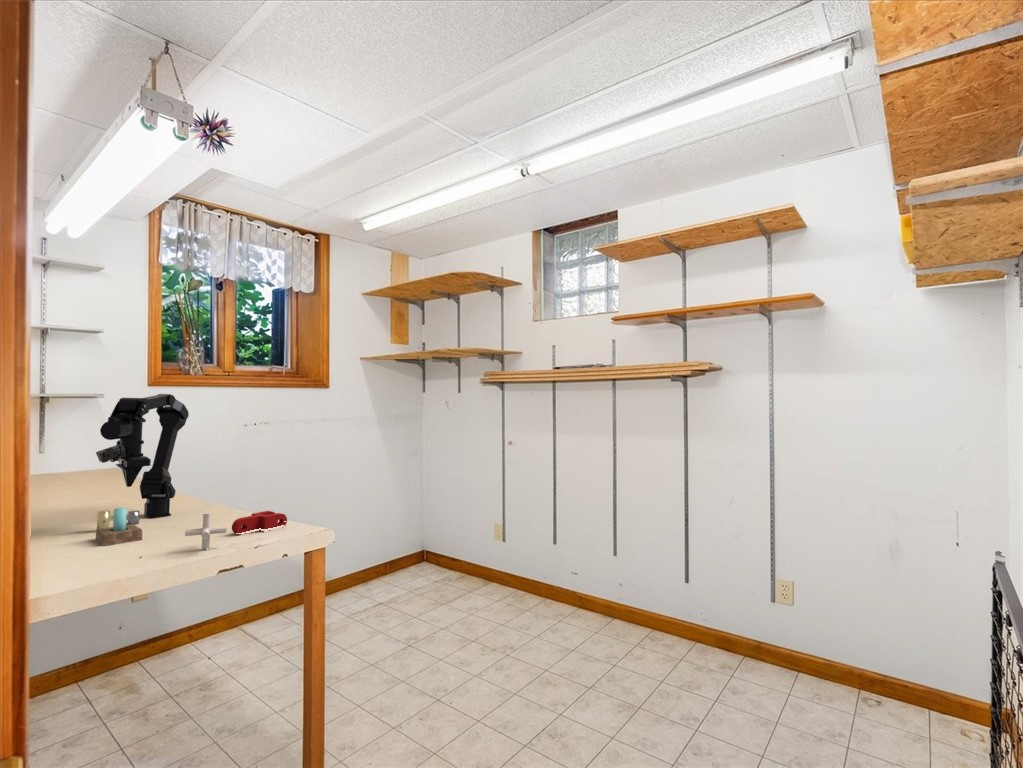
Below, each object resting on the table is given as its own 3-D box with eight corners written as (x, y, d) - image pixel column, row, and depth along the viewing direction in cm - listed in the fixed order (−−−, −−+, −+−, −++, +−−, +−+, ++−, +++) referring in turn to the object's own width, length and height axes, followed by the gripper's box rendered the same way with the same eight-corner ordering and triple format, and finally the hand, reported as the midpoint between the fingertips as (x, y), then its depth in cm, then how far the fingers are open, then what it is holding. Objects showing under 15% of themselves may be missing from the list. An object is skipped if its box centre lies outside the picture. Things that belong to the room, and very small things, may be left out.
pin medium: (107, 529, 166) (108, 509, 166) (110, 530, 164) (111, 511, 164) (95, 530, 164) (96, 511, 164) (98, 532, 162) (99, 512, 162)
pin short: (137, 522, 176) (137, 510, 176) (140, 523, 174) (140, 511, 174) (126, 523, 173) (126, 511, 173) (129, 525, 171) (129, 512, 172)
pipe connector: (183, 556, 142) (184, 518, 142) (186, 546, 151) (187, 510, 151) (225, 552, 147) (226, 515, 147) (226, 542, 155) (227, 508, 156)
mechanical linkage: (273, 524, 178) (273, 509, 179) (286, 527, 175) (287, 512, 175) (226, 534, 165) (227, 518, 165) (240, 538, 161) (241, 521, 161)
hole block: (132, 533, 162) (132, 524, 162) (142, 539, 156) (142, 529, 156) (95, 539, 155) (96, 529, 155) (104, 545, 149) (104, 535, 149)
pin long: (123, 537, 157) (124, 507, 158) (126, 539, 155) (128, 508, 156) (111, 539, 155) (112, 508, 155) (114, 541, 153) (115, 510, 153)
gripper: (91, 436, 168) (89, 485, 168) (108, 440, 156) (106, 494, 156) (133, 434, 177) (131, 481, 177) (152, 439, 165) (150, 489, 165)
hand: (128, 486), depth 168 cm, fingers closed
